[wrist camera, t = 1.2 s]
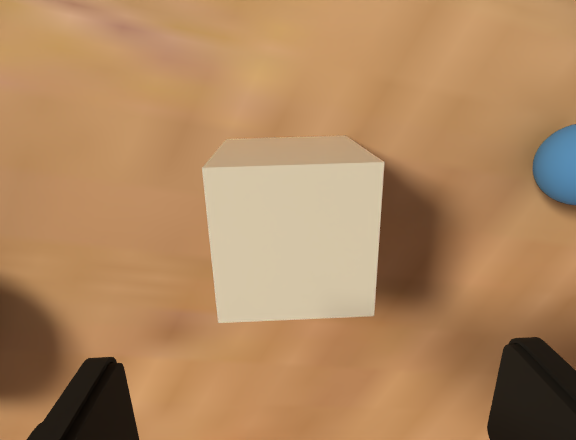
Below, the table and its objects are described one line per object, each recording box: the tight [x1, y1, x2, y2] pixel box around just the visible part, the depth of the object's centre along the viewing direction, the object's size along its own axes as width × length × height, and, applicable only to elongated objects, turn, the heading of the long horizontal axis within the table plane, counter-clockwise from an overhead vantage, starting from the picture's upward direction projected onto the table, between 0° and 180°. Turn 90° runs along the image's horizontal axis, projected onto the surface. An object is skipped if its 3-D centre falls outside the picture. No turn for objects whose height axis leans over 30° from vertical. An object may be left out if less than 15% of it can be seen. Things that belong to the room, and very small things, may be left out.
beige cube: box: [202, 135, 384, 323], centre depth 21 cm, size 8×8×9 cm
